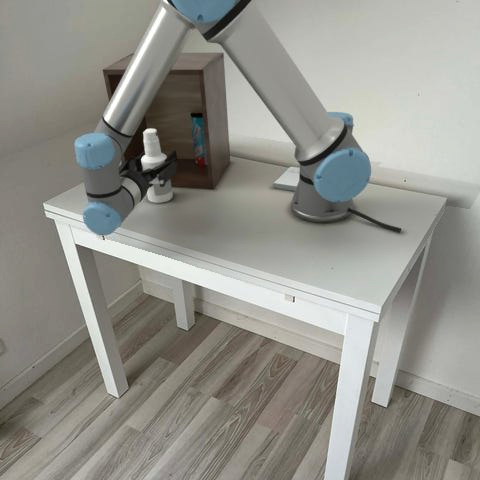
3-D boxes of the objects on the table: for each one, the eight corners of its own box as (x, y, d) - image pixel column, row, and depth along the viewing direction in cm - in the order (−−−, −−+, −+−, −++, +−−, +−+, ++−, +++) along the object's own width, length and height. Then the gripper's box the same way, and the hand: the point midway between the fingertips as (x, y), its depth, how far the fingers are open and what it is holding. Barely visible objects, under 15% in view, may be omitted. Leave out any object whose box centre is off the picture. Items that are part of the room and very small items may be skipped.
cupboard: (213, 189, 136) (203, 69, 117) (126, 184, 141) (102, 69, 122) (230, 163, 150) (223, 52, 131) (150, 159, 156) (132, 53, 136)
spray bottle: (168, 203, 130) (158, 135, 119) (144, 202, 131) (131, 135, 120) (176, 192, 135) (166, 126, 124) (152, 191, 136) (141, 125, 125)
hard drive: (273, 188, 135) (289, 171, 143) (301, 192, 132) (316, 174, 140) (273, 182, 133) (289, 165, 142) (301, 186, 130) (316, 169, 139)
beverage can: (199, 160, 153) (193, 110, 143) (217, 160, 151) (213, 110, 142) (193, 167, 148) (187, 116, 139) (212, 168, 147) (207, 116, 138)
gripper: (91, 203, 118) (129, 167, 135) (169, 208, 114) (198, 170, 131) (83, 173, 113) (123, 139, 130) (165, 178, 109) (195, 142, 126)
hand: (161, 155), depth 131 cm, fingers open, 7 cm apart
